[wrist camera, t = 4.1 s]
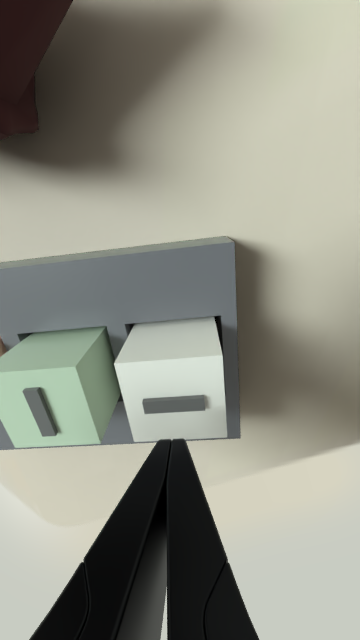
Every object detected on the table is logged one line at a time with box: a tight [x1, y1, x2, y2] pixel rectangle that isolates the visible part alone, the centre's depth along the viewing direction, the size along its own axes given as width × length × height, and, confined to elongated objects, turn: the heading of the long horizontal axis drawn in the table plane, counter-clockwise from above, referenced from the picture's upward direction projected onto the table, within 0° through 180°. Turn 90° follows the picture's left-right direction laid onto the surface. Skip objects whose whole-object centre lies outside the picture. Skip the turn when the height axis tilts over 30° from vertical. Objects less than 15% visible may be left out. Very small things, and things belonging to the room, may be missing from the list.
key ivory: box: [114, 316, 227, 442], centre depth 11 cm, size 4×4×4 cm
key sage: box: [0, 326, 121, 448], centre depth 12 cm, size 4×4×4 cm
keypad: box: [0, 236, 240, 450], centre depth 14 cm, size 17×11×3 cm, turn 97°
